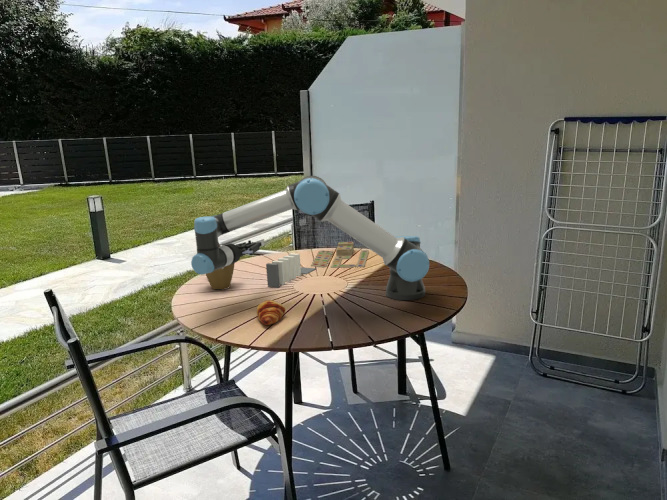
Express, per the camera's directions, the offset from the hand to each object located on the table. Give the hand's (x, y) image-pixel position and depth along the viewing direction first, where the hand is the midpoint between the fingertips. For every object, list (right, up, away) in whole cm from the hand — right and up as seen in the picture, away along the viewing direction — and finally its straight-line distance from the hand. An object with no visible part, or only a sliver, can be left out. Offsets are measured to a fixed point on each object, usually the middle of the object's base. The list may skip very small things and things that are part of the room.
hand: (262, 242), depth 211 cm
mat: (+15, -13, +31) cm, 36 cm away
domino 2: (+6, -18, +12) cm, 23 cm away
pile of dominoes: (+32, -8, +50) cm, 60 cm away
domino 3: (+8, -17, +16) cm, 25 cm away
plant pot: (-19, -20, +11) cm, 30 cm away
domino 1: (+4, -19, +9) cm, 21 cm away
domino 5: (+12, -15, +24) cm, 31 cm away
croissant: (+7, -28, -28) cm, 40 cm away
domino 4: (+10, -16, +20) cm, 27 cm away
